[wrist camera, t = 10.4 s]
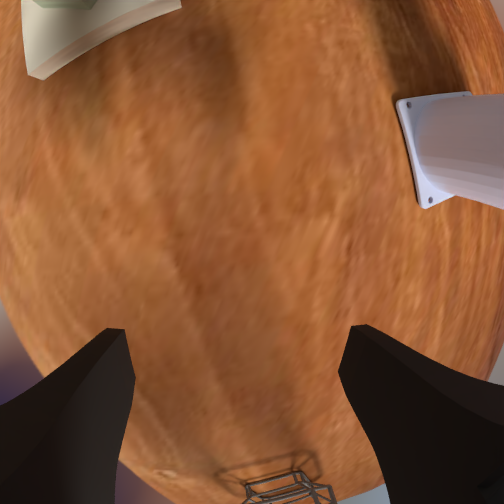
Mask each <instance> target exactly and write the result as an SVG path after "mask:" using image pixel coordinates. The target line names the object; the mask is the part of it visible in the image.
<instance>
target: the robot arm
mask: <svg viewBox="0 0 504 504" xmlns="http://www.w3.org/2000/svg"><path fill="white" fill-rule="evenodd" d="M407 103H408V105H409V108H408V107H407ZM396 109H397V112H398V115H399V118H400V122H401V125H402V129H403V132H404V136H405V140H406V144H407V148H408V152H409V156H410V161H411V165H412V170H413V175H414V180H415V185H416V191H417V196H418V203H419V206H420V207H421V208H424V209H427V208H429V207H431V206H433V205H435V204H438V203H440V202H442V201H444V200H446V199H448V198H451V197H453V196H455V195H457V196H461V197H464V198H468V199H471V200H475V201H478V202H482V203H485V204H488V205H491V206H495V207H498V208H501V209H504V94H487V95H472V94H471V92H469V91H465V92H453V93H443V94H435V95H427V96H419V97H413V98H406V99H400V100H398V101H397V102H396ZM429 198H430V200H429V202H428V199H429ZM338 373H339V377H340V380H341V383H342V386H343V388H344V391H345V394H346V396H347V398H348V400H349V402H350V404H351V406H352V408H353V410H354V412H355V414H356V416H357V418H358V420H359V421H360V423H361V425H362V427H363V429H364V431H365V433H366V435H367V437H368V439H369V440H370V442H371V445H372V447H373V449H374V451H375V454H376V456H377V459H378V462H379V465H380V468H381V471H382V474H383V477H384V480H385V484H386V487H387V491H388V495H389V499H390V504H504V386H502V385H498V384H493V383H490V382H486V381H483V380H479V379H476V378H473V377H470V376H468V375H465V374H463V373H460V372H457V371H455V370H453V369H450V368H448V367H446V366H444V365H442V364H440V363H438V362H436V361H434V360H432V359H430V358H428V357H426V356H424V355H422V354H420V353H418V352H417V351H415V350H413V349H411V348H410V347H408V346H406V345H404V344H402V343H401V342H399V341H397V340H395V339H394V338H392V337H390V336H388V335H387V334H385V333H383V332H381V331H379V330H377V329H376V328H374V327H371V326H369V325H367V324H365V325H356V326H351V329H350V332H349V336H348V340H347V343H346V347H345V350H344V353H343V357H342V360H341V363H340V366H339V370H338ZM135 378H136V377H135V374H134V370H133V366H132V362H131V357H130V353H129V349H128V344H127V339H126V334H125V329H113V328H106V329H105V330H103V331H102V332H101V333H99V334H98V335H97V336H96V337H95V338H93V339H92V340H91V341H90V342H89V343H87V344H86V345H85V346H84V347H83V348H82V349H80V350H79V351H78V352H77V353H75V354H74V355H73V356H72V357H71V358H69V359H68V360H67V361H66V362H65V363H63V364H62V365H61V366H60V367H58V368H57V369H56V370H54V371H53V372H52V373H50V374H49V375H48V376H46V377H45V378H44V379H43V380H41V381H40V382H39V383H37V384H36V385H34V386H33V387H31V388H30V389H28V390H27V391H25V392H24V393H22V394H20V395H19V396H17V397H16V398H14V399H12V400H10V401H9V402H7V403H5V404H3V405H1V406H0V504H114V500H115V495H114V494H115V480H116V469H117V462H118V458H119V453H120V449H121V445H122V441H123V437H124V433H125V429H126V425H127V421H128V417H129V413H130V410H131V406H132V400H133V393H134V385H135Z"/></svg>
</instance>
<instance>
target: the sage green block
mask: <svg viewBox="0 0 504 504" xmlns="http://www.w3.org/2000/svg"><path fill="white" fill-rule="evenodd" d="M32 1H34V2H35V3H36V4H38V5H39V6H40V7H42V8H67V9H85V10H91V9H92V7H93V6H94V4H95V3H96V2H97V0H32Z"/></svg>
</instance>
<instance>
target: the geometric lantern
mask: <svg viewBox="0 0 504 504" xmlns="http://www.w3.org/2000/svg"><path fill="white" fill-rule="evenodd" d="M295 474H300V476H301V479H302V481H299V482H298V480H297V477H296V475H295ZM291 475H293V477H294V480H295V483H294V484H291V485H288V486H284V487H281V488H277V489H274V490H270V491H266V492H263V493H259V494H256V493H254V492H253V491H251V487H250V486H254V485H258V484H262V483H266V482H270V481H274V480H277V479H281V478H284V477H288V476H291ZM304 478H305V479H304ZM305 480H306V481H305ZM302 483H303V484H302ZM298 484H299V485H301V486H302V487H304V488H300V489H297V490H294V491H290V492H287V493H283V494H280V495H276V496H272V497H260V495H264V494H268V493H272V492H275V491H279V490H282V489H286V488H289V487H292V486H295V485H298ZM308 484H309V485H308ZM313 485H315V486H319V487H314V486H313ZM310 486H311V487H310ZM326 488H328V491H329V495H330V498H331V500H330V499H328V498H325V497H323V496H321V495H319V494H317V493H316V491H317V490H322V489H326ZM304 489H306V490H304ZM245 490H246V496H247V499H246V500H245V501H244V502H243V503H242V504H246V503H247V502H248V501H250V502H252V503H249V504H267V503H269V504H272V502H276V501H280V500H284V499H288V498H292V497H295V496H299V495H302V494H306V493H309V495H307V496H304V497H302V498H299V499H296V500H293V501H290V502H287V503H283V504H290V503H293V502H296V501H299V500H302V499H305V498H307V497H310V496H311V497H312V498H313V499H314V502H315V504H321V503H320V502H319V499H318V497H317V496H319V497H321V498H323V499H325V500H327V501H329V502H331V503H329V504H337V501H336V498H335V495H334V492H333V489H332V486H331V485H323V484H318V483H313V482H310V480H309V479H308V478H307V477H306V476H305V475H304V473H303V472H302V471H300V472H293V473H290V474H286V475H283V476H280V477H276V478H272V479H269V480H265V481H261V482H257V483H252V484H247V485H246V487H245ZM300 490H303V491H300ZM297 491H299V492H297ZM294 492H296V493H294ZM290 493H292V494H290ZM249 494H250V496H249ZM287 494H289V495H287ZM283 495H285V496H283ZM280 496H281V497H280ZM251 497H258V498H260V499H262V501H259V502H255V501H253V500H251V499H250V498H251ZM276 497H277V498H276ZM272 498H273V499H272ZM264 499H268V500H264Z"/></svg>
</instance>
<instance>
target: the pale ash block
mask: <svg viewBox="0 0 504 504" xmlns="http://www.w3.org/2000/svg"><path fill="white" fill-rule="evenodd" d="M21 8H22V30H23V42H24V51H25V59H26V66H27V72H28V75H30V76H32V77H35V78H38V79H41V80H43V81H44V80H45V79H46V78H48V77H49V76H50V75H52V74H53V73H55V72H56V71H57V70H59V69H60V68H62V67H63V66H65V65H66V64H68V63H69V62H71V61H72V60H74V59H75V58H77V57H78V56H80V55H82V54H83V53H85V52H87V51H88V50H90V49H92V48H93V47H95V46H97V45H99V44H101V43H102V42H104V41H106V40H108V39H110V38H112V37H114V36H116V35H118V34H120V33H122V32H124V31H126V30H128V29H130V28H132V27H134V26H137V25H139V24H141V23H143V22H146V21H148V20H150V19H153V18H155V17H158V16H160V15H163V14H166V13H168V12H171V11H174V10H177V9H180V8H182V6H181V1H180V0H97V2H96V3H95V4H94V6H93V7H92V9H91V10H85V9H67V8H42V7H40V6H39V5H38V4H36V3H35V2H34V1H32V0H21Z"/></svg>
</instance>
